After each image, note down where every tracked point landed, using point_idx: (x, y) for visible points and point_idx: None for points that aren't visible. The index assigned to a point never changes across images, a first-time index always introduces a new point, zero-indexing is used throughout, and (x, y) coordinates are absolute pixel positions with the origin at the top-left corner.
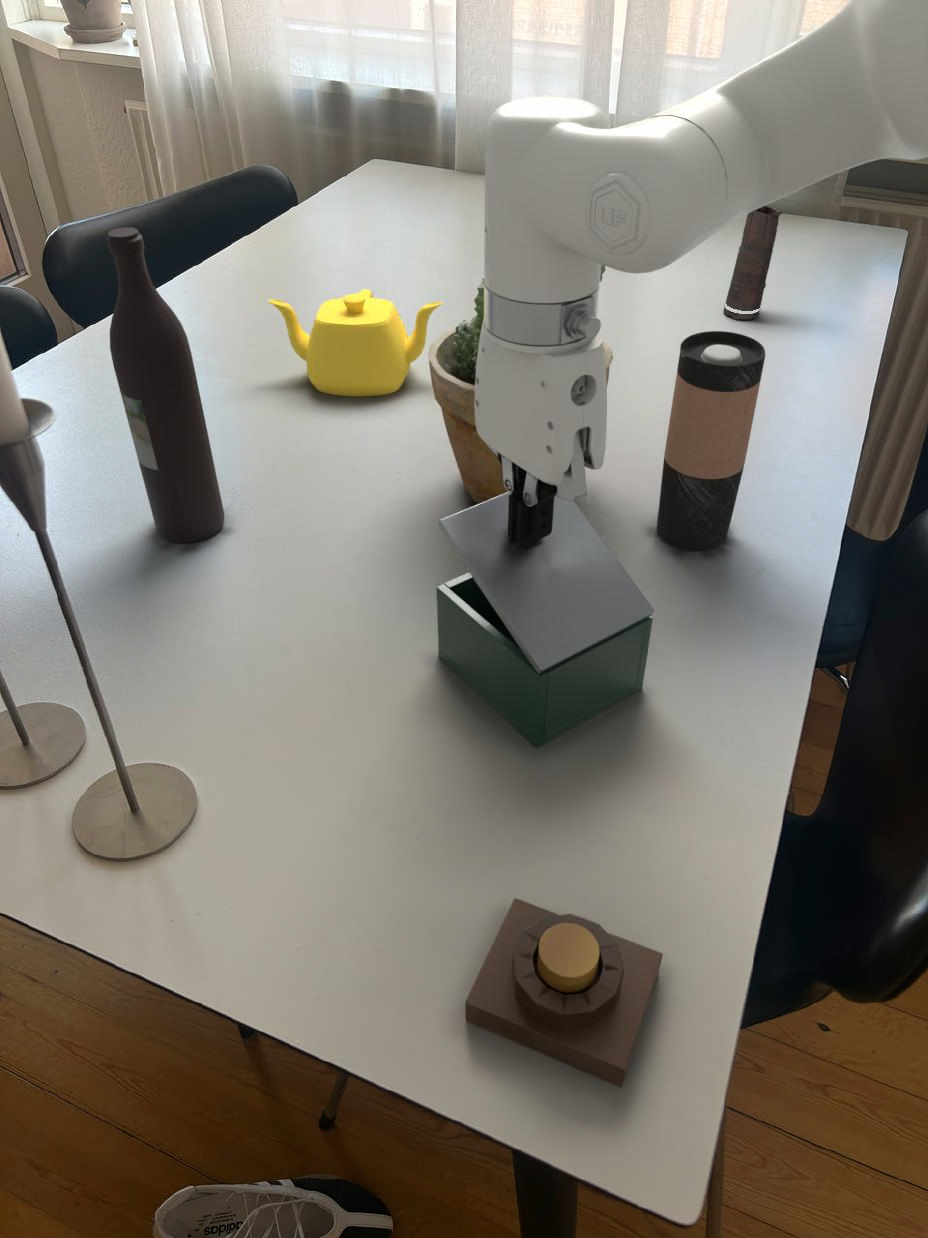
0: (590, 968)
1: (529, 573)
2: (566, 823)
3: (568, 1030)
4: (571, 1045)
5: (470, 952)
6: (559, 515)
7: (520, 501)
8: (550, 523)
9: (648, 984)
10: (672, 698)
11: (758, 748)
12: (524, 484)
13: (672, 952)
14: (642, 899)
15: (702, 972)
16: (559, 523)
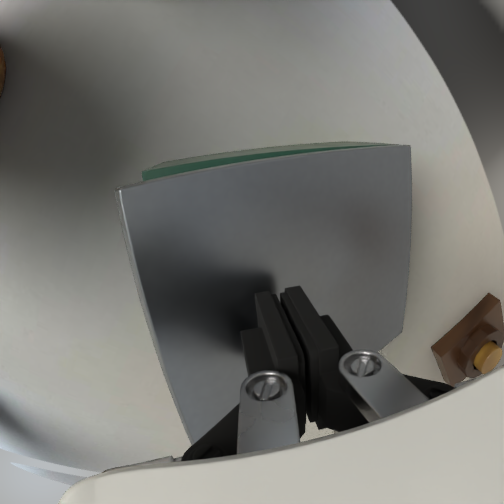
0: (501, 355)
1: None
2: (412, 292)
3: None
4: None
5: (427, 371)
6: (246, 231)
7: (323, 426)
8: (333, 322)
9: (500, 314)
10: (369, 125)
11: (442, 112)
12: (300, 427)
13: (488, 280)
14: (468, 277)
15: (499, 272)
16: (262, 238)
